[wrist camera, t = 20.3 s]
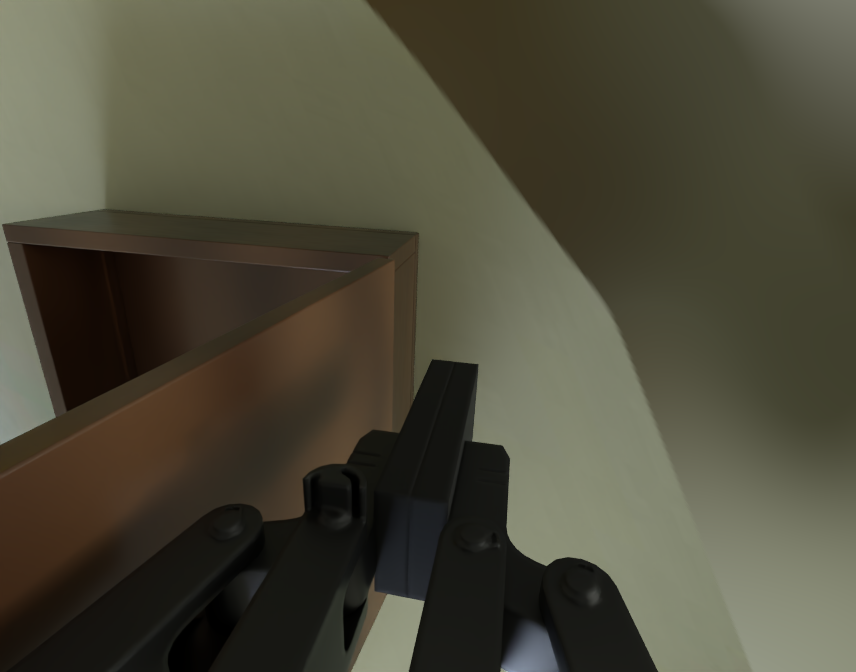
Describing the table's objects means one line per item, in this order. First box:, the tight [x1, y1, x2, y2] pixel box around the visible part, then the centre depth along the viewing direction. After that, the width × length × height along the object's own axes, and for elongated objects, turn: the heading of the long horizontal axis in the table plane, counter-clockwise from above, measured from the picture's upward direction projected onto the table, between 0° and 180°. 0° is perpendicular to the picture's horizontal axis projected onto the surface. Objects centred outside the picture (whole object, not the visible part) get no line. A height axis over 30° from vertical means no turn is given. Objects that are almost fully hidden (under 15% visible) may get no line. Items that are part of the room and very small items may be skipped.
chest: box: [2, 209, 419, 433], centre depth 29 cm, size 20×19×6 cm
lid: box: [0, 258, 395, 672], centre depth 15 cm, size 21×19×1 cm
